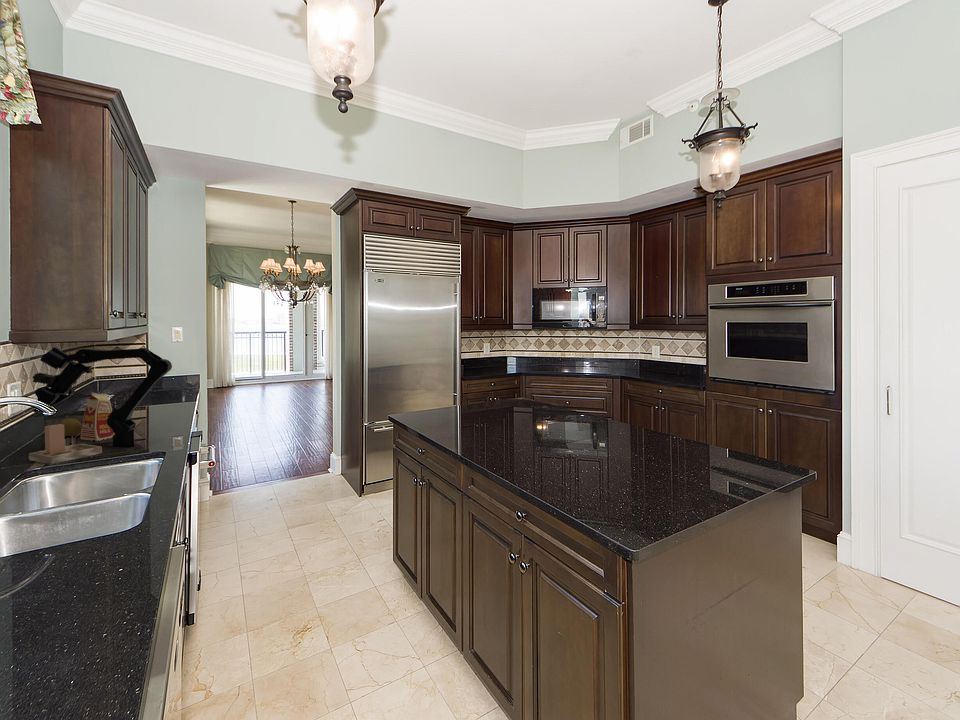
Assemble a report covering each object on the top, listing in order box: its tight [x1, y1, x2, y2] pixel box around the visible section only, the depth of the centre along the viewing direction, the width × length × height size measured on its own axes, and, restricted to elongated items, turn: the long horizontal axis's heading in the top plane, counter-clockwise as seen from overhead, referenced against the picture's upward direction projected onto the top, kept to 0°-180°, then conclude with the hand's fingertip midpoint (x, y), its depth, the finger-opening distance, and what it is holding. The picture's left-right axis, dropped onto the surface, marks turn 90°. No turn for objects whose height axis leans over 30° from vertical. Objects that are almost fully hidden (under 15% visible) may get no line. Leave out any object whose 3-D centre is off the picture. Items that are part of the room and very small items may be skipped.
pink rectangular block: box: [44, 423, 66, 455], centre depth 166 cm, size 4×2×12 cm, turn 161°
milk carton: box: [80, 392, 114, 442], centre depth 201 cm, size 9×9×20 cm
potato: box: [59, 418, 82, 437], centre depth 202 cm, size 7×8×8 cm
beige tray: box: [28, 443, 103, 465], centre depth 170 cm, size 16×12×3 cm
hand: (40, 410), depth 178 cm, fingers open, 9 cm apart
